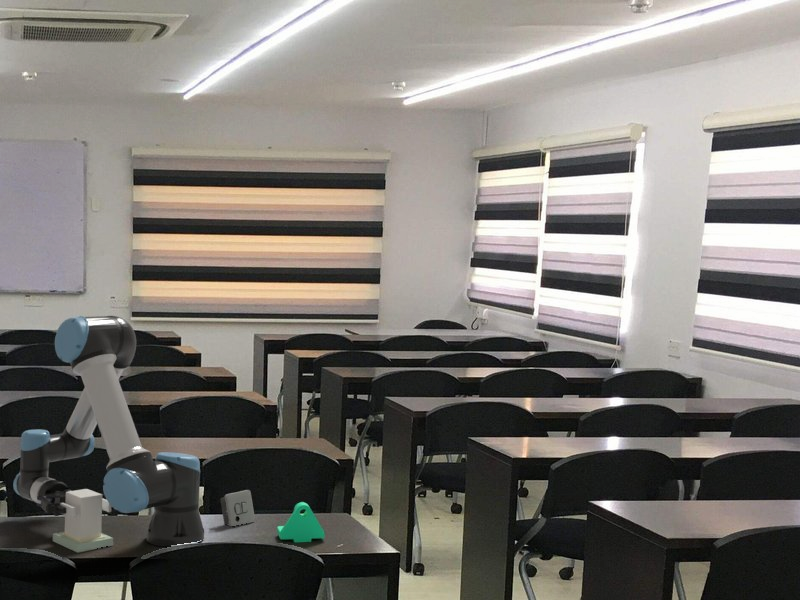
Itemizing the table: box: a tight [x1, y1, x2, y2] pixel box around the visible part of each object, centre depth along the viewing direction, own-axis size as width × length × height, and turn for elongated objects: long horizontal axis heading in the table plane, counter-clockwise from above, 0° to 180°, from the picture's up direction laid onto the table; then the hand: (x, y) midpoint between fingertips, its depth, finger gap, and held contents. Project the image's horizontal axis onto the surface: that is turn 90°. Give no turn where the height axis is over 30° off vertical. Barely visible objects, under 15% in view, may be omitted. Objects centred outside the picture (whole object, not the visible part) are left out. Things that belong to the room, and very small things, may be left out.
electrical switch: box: [220, 489, 256, 527], centre depth 286 cm, size 9×5×9 cm, turn 141°
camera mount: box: [277, 501, 326, 543], centre depth 274 cm, size 12×8×10 cm, turn 104°
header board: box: [52, 530, 114, 553], centre depth 261 cm, size 13×10×6 cm
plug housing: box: [64, 488, 103, 540], centre depth 261 cm, size 8×6×11 cm
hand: (92, 510), depth 258 cm, fingers open, 9 cm apart
